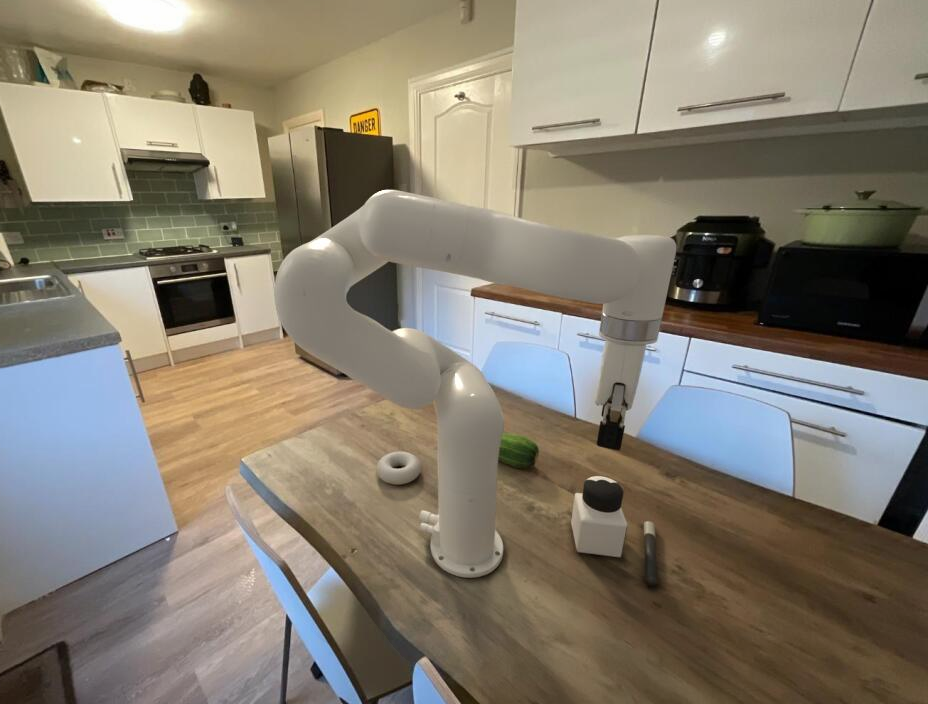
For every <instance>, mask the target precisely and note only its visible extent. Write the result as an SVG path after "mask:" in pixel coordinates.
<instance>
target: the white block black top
mask: <svg viewBox="0 0 928 704" xmlns="http://www.w3.org/2000/svg"><path fill="white" fill-rule="evenodd" d="M624 493H625V492H624V489H623V487H622V485H620V484H619V483H618V482H617V481H615V480H614V479H612V478H610V477H606V476H601V475H594V476H590V477H588V478H587V479H585V480H584V482H583V488H582V493H581V492H575V493H574V498H573V499H574V500H573V505H572V506H573V507H572V512H571V513H572V514H571V520H570V524H571V529H572V534H573V539H574V544H575V545H574V546H575V549H576V550H575V551H576V552H578V553H582V554H590V555H599V556H605V557H615V558H621V557H622V556H623V551H624V545H625V540H626V536H627V530H628V522H627V520H626V517H625V514H624V512H623V509H622V504H623V498H624Z"/></svg>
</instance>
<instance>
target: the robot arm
mask: <svg viewBox="0 0 928 704" xmlns="http://www.w3.org/2000/svg"><path fill="white" fill-rule="evenodd" d="M676 254H677V243H676V241H675V240H674V239H673V238H672V237H670V236H666V235H657V234H629V235H624V236H620V237H613V236H601V235H597V234H593V233H587V232H582V231H579V230H573V229H568V228H563V227H558V226H554V225H550V224H545V223H541V222H536V221H533V220H529V219H526V218H521V217H518V216H516V215H513V214H510V213H506V212H503V211H498V210H494V209H489V208H485V207H480V206H474V205H469V204H465V203H460V202H455V201H450V200H446V199H441V198H435V197H431V196H427V195H421V194H417V193H412V192H407V191H402V190H397V189H384V190H381V191H377V192H376V193H374V194H373V195H371V196H370V197H369V198H368V199H367V200H366V201H365V203H364V204H363V205H362V206H361V207H359V209H357V210H355V211H354V212H353V213H351V214H350V215H348V216H347V217H346V218H344V219H343V220H341V221H340V222H338V223H336V224H335V225H334V226H332V227H330V228H329V229H328V230H326V231H325V232H323V233H322V234H320V235H318V236H316V237H315V238H314V239H312V240H310V241H309V242H306V243H303V244H301V245H300V246H298V247H296V248H294V249H292V250H291V251H290V252H289V253H288V254H287V255H286V256H285V258H284V259H283V260H282V261H281V264H280V266H279V267H278V270H277V273H276V276H275V279H274V280H275V281H274V291H273V293H274V304H275V309H276V313H277V317H278V320H279V322H280V324H281V326H282V328H283V329H284V331H285V333H286V334H287V335H288V337H289V339H291V340H292V342H294V344H296V345H297V346H298V347H299V348H300V349H302V350H303V351H304V352H306V353H308V354H309V355H310V356H313V357H314V358H316V359H318V360H320V361H321V362H323V363H325V364H327V365H328V366H330V367H332V368H334V369H335V370H336V371H337V370H338V371H339V372H341V373H342V374H344V375H346V376H347V377H348V378H350V379H352V380H353V381H355V382H357V383H358V384H360V385H362V386H364V387H366V388H367V389H368V390H371V391H372V392H374V393H376V394H377V395H379V396H380V397H383V398H384V399H385V400H387V401H389V402H391V403H392V404H394V405H397V406H399V407H401V408H403V409H408V410H418V409H422V408H425V407H427V406H429V405H430V404H432V403H433V407H434V413H435V417H436V425H437V451H436V452H437V453H436V455H437V456H436V458H437V461H436V462H437V463H436V465H437V498H438V500H437V501H438V502H437V503H438V504H437V505H438V514H434V513H432V512H430V511H428V510H424V509H422V510H421V511H420V513H419V518H418V519H419V522H421V523H420V526H419V530H420V531H422V532H424V533H429V534H431V537H430V543H429V544H430V553H431V556H432V558H433V560H434V562H435V563H436V564H437V565H438V566H439V567H440V568H441V569H442V570H443V571H445V572H447V573H448V574H450V575H453V576H456V577H460V578H469V579H472V578H474V579H475V578H480V577H483V576H486V575H488V574H490V573H492V572H494V570H495V569H497V568H498V567H499V565H500V564H501V562H502V560H503V556H504V543H503V540H502V537H501V535H500V534H499V532H498V531H497V529H496V519H497V518H496V515H497V495H498V469H499V460H498V458H499V450H500V445H501V440H502V436H503V433H504V427H505V421H504V420H505V419H504V414H503V410H502V406H501V404H500V402H499V399H498V398H497V396H496V394H495V392H494V390H493V388H492V387H491V385H490V384H489V382H488V380H487V378H486V377H485V375H484V374H483V372H482V371H481V369H479V367H477V366H476V365H475V364H474V363H472V362H471V361H470V360H468V359H466V358H465V357H463V356H462V355H461V354H460V353H457V352H455V351H454V350H452V349H451V348H450V347H448V346H446V345H445V344H443V343H442V342H440V341H439V340H437V339H436V338H435V337H432V336H431V335H429V334H428V333H426V332H424V331H421V330H419V329H416V328H411V327H402V328H396V329H394V330H390V329H388V328H386V327H385V326H384V325H382V324H381V323H379V322H378V321H376V320H375V319H373V318H371V317H369V316H368V315H366V314H363V313H361V312H359V311H357V310H355V309H354V308H352V306H351V305H350V304H349V303H348V301H347V294H348V292H349V290H350V288H351V287H353V286H354V285H356V284H357V283H359V282H360V281H362V280H363V279H365V278H366V277H368V276H369V275H371V274H373V273H374V272H375V271H377V270H378V269H380V268H381V267H384V266H385V265H386V264H387V263H389V262H390V263H394V264H400V265H404V266H409V267H415V268H421V269H425V270H426V269H427V270H433V271H438V272H442V273H448V274H452V275H458V276H464V277H468V278H472V279H473V278H474V279H476V280H477V279H478V280H482V281H485V282H488V283H491V284H498V285H504V286H509V287H514V288H519V289H523V290H525V291H531V292H535V293H540V294H543V295H548V296H552V297H558V298H563V299H569V300H575V301H579V302H584V303H585V302H586V303H589V304H591V303H592V304H598V305H599V304H600V305H601V304H602V311H601V318H600V324H599V331H598V336H599V337H600V338H601V339H604V340H605V341H604V345H603V350H602V355H601V359H600V360H601V361H600V366H599V372H598V379H597V384H596V392H595V398H594V404H595V405H596V406H598V407H599V406H602V409H601V417H602V420H600V421H599V427H598V434H597V438H596V446H597V447H600V448H604V449H608V450H614V451H620V450H621V448H622V443H623V439H624V435H625V434H624V433H625V429H626V425H625V418H626V412H627V411H629V410H631V409H632V407H633V404H634V400H635V397H636V393H637V389H638V385H639V381H640V377H641V373H642V368H643V363H644V360H645V354H646V349H647V345H652V344H655V343H657V342H658V339H659V334H660V331H661V330H660V329H661V325H662V320H663V315H664V311H665V305H666V300H667V296H668V291H669V287H670V282H671V277H672V273H673V268H674V263H675V260H676ZM430 524H431V525H430Z"/></svg>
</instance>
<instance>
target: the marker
mask: <svg viewBox="0 0 928 704" xmlns="http://www.w3.org/2000/svg"><path fill="white" fill-rule="evenodd" d="M643 538H644V539H643V541H644V568H645V569H644V570H645V571H644V573H645V583H646V584H647V585H648V586H649V587H657V585H658V583H659V582H658V581H659V580H658V566H657V565H658V564H657V552H656V550H657V549H656V526H655V523H654V522H653V521H649V520H646V521H644V522H643Z"/></svg>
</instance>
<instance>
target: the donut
mask: <svg viewBox="0 0 928 704" xmlns="http://www.w3.org/2000/svg"><path fill="white" fill-rule="evenodd" d="M397 467H401V468H397ZM421 470H422V464H421V461H420V460H419V458H418V457H417V456H416V455H414V454H412V453H411V452H408V451H401V450H400V451H393V452H389V453H386V454H385V455H383V457H381V458H380V459H379V460H378V462H377V465H376V473H377V475H378V477H379V478H380V479H381V480H382V481H383V482H384V483H386V484H389V485H396V486H398V485H399V486H400V485H405V484H409V483H410V482H412V481H414V480H416V479H417V478H418V476H420V473H421Z"/></svg>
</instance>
